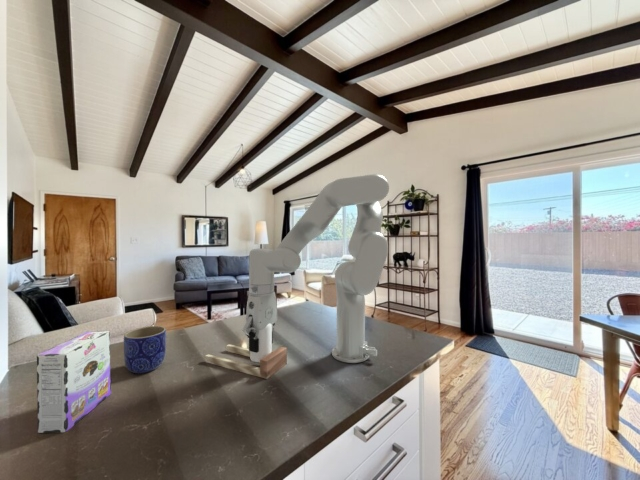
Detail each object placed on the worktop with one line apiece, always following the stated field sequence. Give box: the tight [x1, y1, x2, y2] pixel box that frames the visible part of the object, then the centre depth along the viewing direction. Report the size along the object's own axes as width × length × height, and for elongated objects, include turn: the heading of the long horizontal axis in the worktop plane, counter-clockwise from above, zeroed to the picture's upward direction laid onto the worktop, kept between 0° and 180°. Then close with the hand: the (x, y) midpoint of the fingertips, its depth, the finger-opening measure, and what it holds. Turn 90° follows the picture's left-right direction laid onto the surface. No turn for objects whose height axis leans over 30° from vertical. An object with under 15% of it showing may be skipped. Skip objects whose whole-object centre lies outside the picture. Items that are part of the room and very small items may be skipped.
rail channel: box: [204, 343, 288, 380], centre depth 88 cm, size 24×10×5 cm, turn 64°
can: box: [249, 323, 273, 364], centre depth 86 cm, size 6×6×12 cm
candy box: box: [36, 330, 112, 434], centre depth 64 cm, size 14×6×16 cm, turn 4°
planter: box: [123, 325, 167, 374], centre depth 85 cm, size 11×11×11 cm
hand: (261, 346), depth 86 cm, fingers closed on can, 6 cm apart
